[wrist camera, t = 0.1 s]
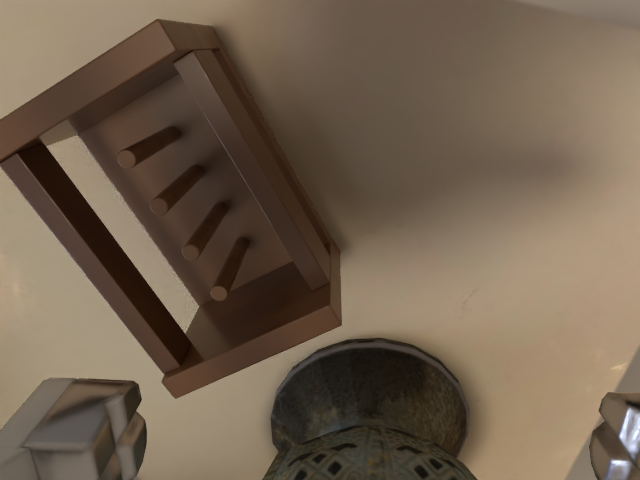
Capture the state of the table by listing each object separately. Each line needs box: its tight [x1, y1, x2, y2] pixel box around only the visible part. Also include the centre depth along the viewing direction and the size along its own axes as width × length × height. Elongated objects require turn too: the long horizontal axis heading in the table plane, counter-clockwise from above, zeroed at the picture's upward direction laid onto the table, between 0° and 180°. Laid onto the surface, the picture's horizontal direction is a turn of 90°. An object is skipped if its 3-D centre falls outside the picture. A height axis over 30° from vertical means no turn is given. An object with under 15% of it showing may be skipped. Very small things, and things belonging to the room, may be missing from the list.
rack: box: [0, 19, 342, 399], centre depth 24 cm, size 9×14×8 cm, turn 28°
